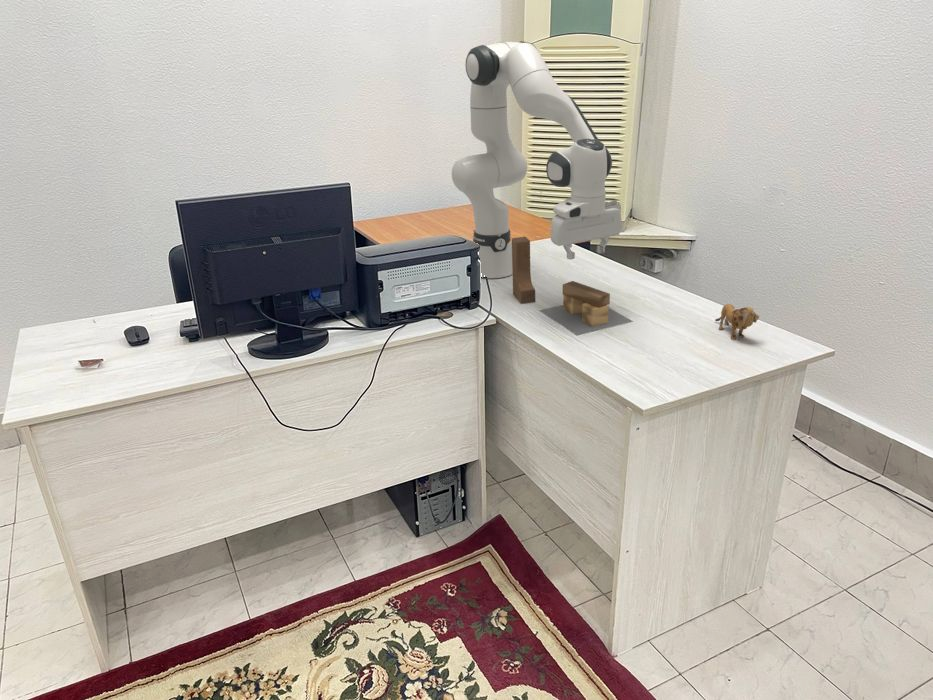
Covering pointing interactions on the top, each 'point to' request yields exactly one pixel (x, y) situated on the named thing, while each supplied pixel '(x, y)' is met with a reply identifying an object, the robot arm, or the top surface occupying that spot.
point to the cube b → (594, 314)
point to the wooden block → (522, 271)
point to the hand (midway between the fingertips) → (585, 255)
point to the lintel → (586, 294)
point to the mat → (576, 323)
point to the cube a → (572, 305)
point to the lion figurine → (737, 319)
